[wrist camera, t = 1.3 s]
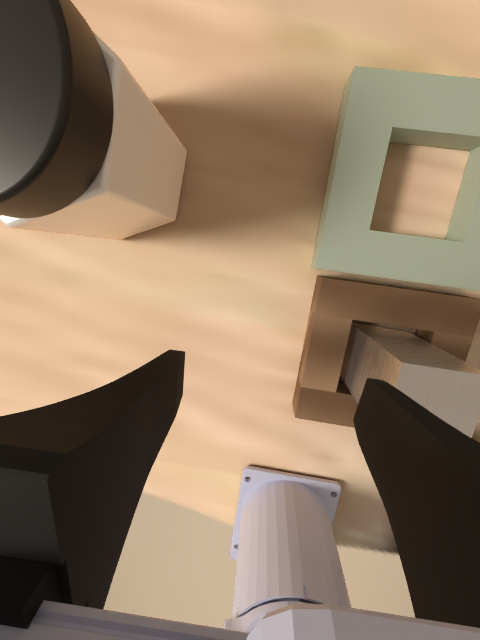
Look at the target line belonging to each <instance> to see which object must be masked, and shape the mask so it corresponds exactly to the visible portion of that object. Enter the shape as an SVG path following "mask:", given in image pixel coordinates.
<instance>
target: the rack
mask: <svg viewBox="0 0 480 640" xmlns="http://www.w3.org/2000/svg"><path fill="white" fill-rule="evenodd" d="M389 142H394V143H403V144H412V145H421V146H430V147H438V148H447V149H456V150H465V151H470V154H469V158H468V161H467V165H466V168H465V172H464V175H463V179H462V183H461V186H460V190H459V193H458V197H457V200H456V204H455V207H454V211H453V214H452V218H451V221H450V225H449V228H448V232H447V235H446V239H445V240H443V239H436V238H428V237H420V236H412V235H405V234H397V233H389V232H382V231H374V230H370V225H371V221H372V216H373V212H374V207H375V203H376V198H377V194H378V190H379V185H380V181H381V176H382V172H383V167H384V163H385V158H386V154H387V150H388V145H389ZM311 267H312V268H316V269H323V270H330V271H338V272H345V273H352V274H359V275H367V276H374V277H381V278H388V279H396V280H403V281H410V282H417V283H425V284H432V285H439V286H446V287H454V288H461V289H468V290H475V291H480V79H477V78H467V77H457V76H447V75H437V74H427V73H417V72H407V71H397V70H387V69H377V68H368V67H358V66H355V67H354V69H353V71H352V73H351V75H350V78H349V80H348V82H347V84H346V86H345V90H344V95H343V100H342V106H341V111H340V116H339V122H338V127H337V132H336V138H335V143H334V149H333V154H332V159H331V165H330V170H329V175H328V181H327V186H326V191H325V197H324V202H323V207H322V213H321V218H320V224H319V229H318V234H317V240H316V245H315V250H314V256H313V261H312V266H311Z"/></svg>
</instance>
